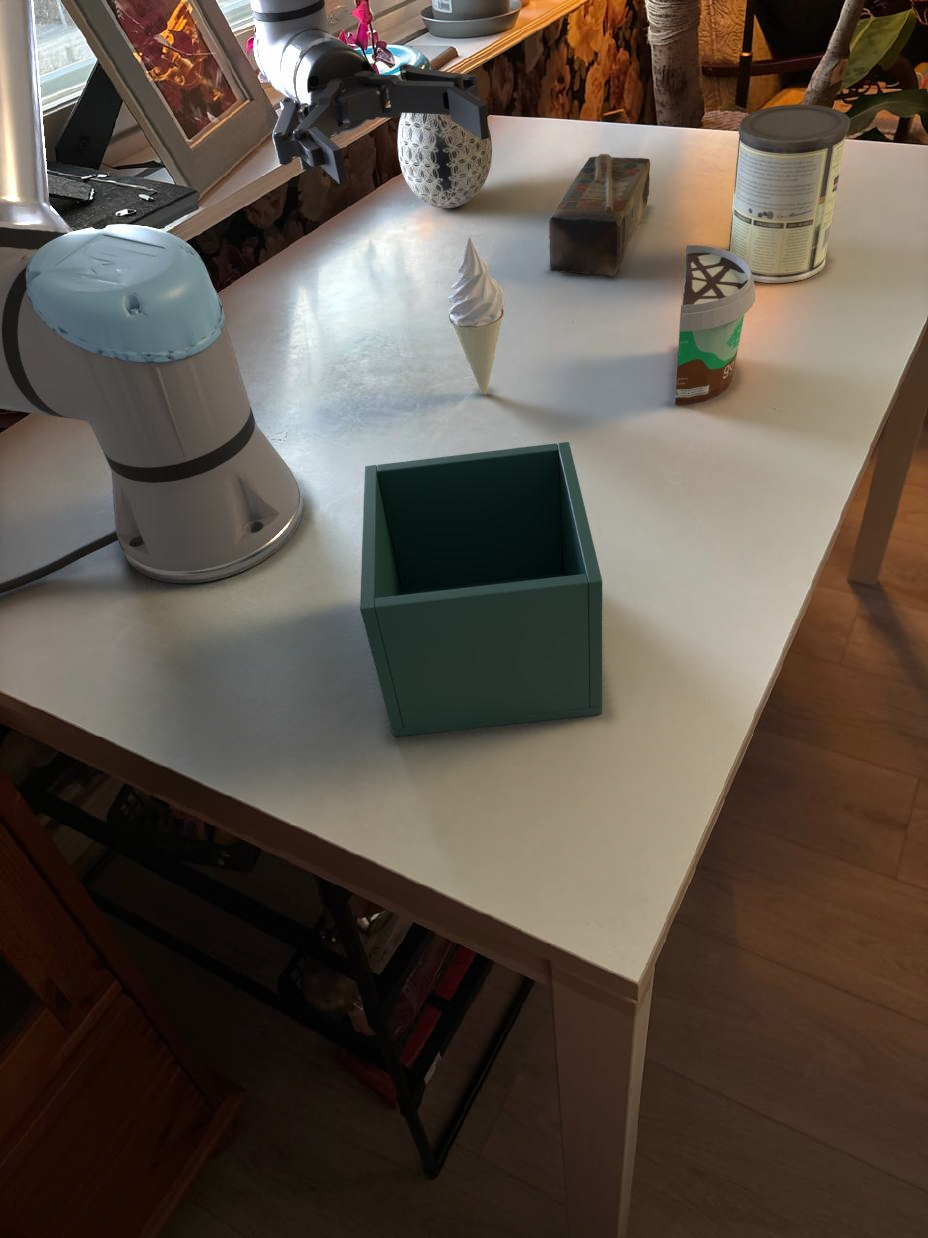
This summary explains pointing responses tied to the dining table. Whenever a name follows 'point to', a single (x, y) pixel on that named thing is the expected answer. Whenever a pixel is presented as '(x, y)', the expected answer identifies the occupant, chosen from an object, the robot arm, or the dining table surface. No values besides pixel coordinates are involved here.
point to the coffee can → (786, 189)
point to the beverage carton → (599, 215)
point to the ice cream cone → (477, 314)
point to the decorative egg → (442, 159)
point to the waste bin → (481, 590)
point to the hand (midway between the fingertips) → (413, 144)
